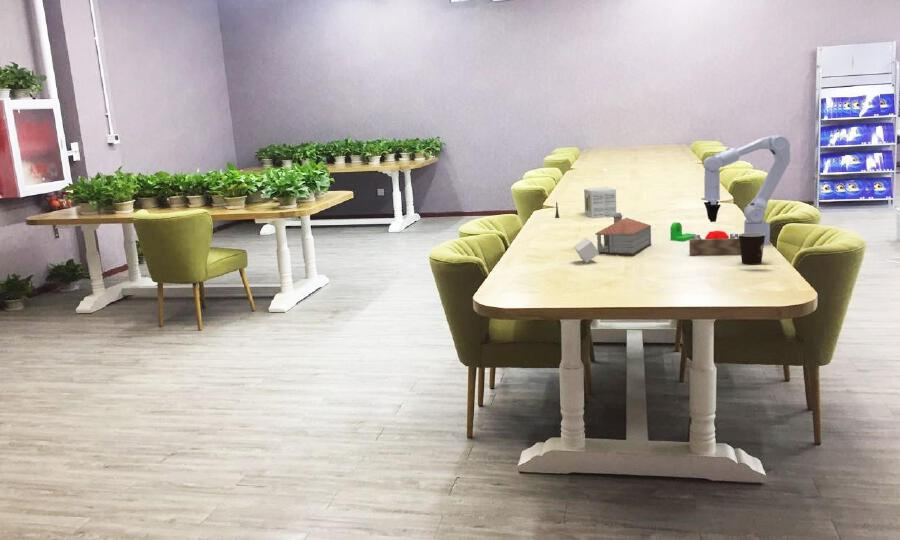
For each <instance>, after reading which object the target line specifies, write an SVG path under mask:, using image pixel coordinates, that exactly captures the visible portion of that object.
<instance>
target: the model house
mask: <svg viewBox="0 0 900 540" xmlns="http://www.w3.org/2000/svg"><path fill="white" fill-rule="evenodd" d="M622 217H623V214H622V213H621V212H616V213H615V214H614V216H613V217H612V218H613V223H612V224H610V225H608V226H606V227H604V228H602V229H601V230H599V231H598V232H595V234H594V235H595V236H596V239H597V240H596V241H597V243H596V245H597V251H598V252H599V254H598V255H601V254H606V255H605V256H616V255H619V257H620V256H621V257H632V258H634V257H635V256H637V255H638V254H639V253H641V252H643V251H644V250H646V249H647V248H649V247H650V246H652V225H651V224H648V223H645V222H642V221H638V220H635V219H633V218H629V217H625V218H622ZM602 236H603V244H602Z"/></svg>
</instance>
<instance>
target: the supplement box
mask: <svg viewBox="0 0 900 540" xmlns="http://www.w3.org/2000/svg"><path fill="white" fill-rule="evenodd" d="M583 190H584V191H583V194H584V215H585V216H586V217H588V218H590V219H600V218H601V219H602V218H604V217H606V218H613V216H614V214H615V213H617V189H616V188H613V187H608V186H607V187H594V188H584V189H583ZM604 219H605V218H604Z"/></svg>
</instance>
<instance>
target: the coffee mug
mask: <svg viewBox="0 0 900 540" xmlns="http://www.w3.org/2000/svg"><path fill="white" fill-rule="evenodd" d="M738 237H739V241H740V250H741V255H740V257H741V263H742V264H744V265H761V264H762V261H763V255H764V254H763V253H764V249H765V248H764V246H765V245H764V240H765V234H763V233H744V232H743V233H738Z"/></svg>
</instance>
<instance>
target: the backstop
mask: <svg viewBox="0 0 900 540" xmlns="http://www.w3.org/2000/svg"><path fill="white" fill-rule="evenodd" d="M689 256H690V257H696V256H697V257H698V256H700V257H701V256H705V257H706V256H741V250H740V241H739V238H730V237H729V239H705V238H701V239H690V240H689Z"/></svg>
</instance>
